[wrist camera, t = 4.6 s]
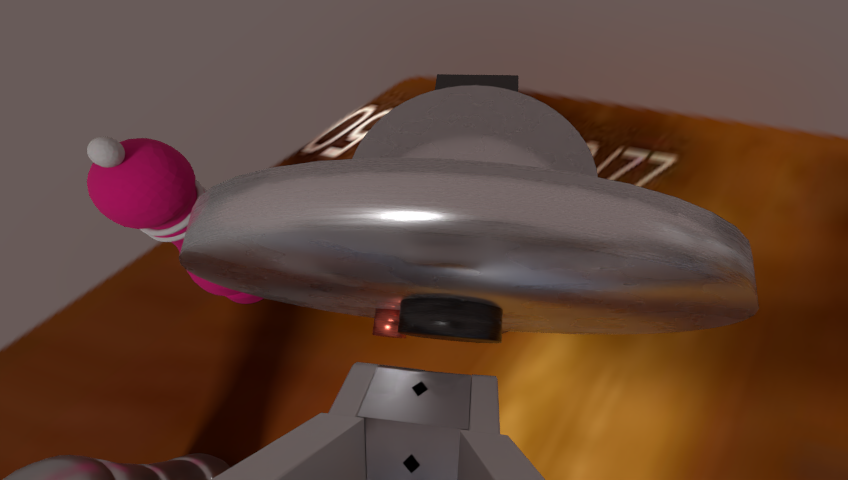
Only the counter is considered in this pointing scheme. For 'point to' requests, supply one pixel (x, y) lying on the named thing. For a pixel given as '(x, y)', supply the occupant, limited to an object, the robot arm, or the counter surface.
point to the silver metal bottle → (121, 469)
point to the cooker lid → (472, 249)
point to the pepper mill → (149, 193)
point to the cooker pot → (479, 127)
